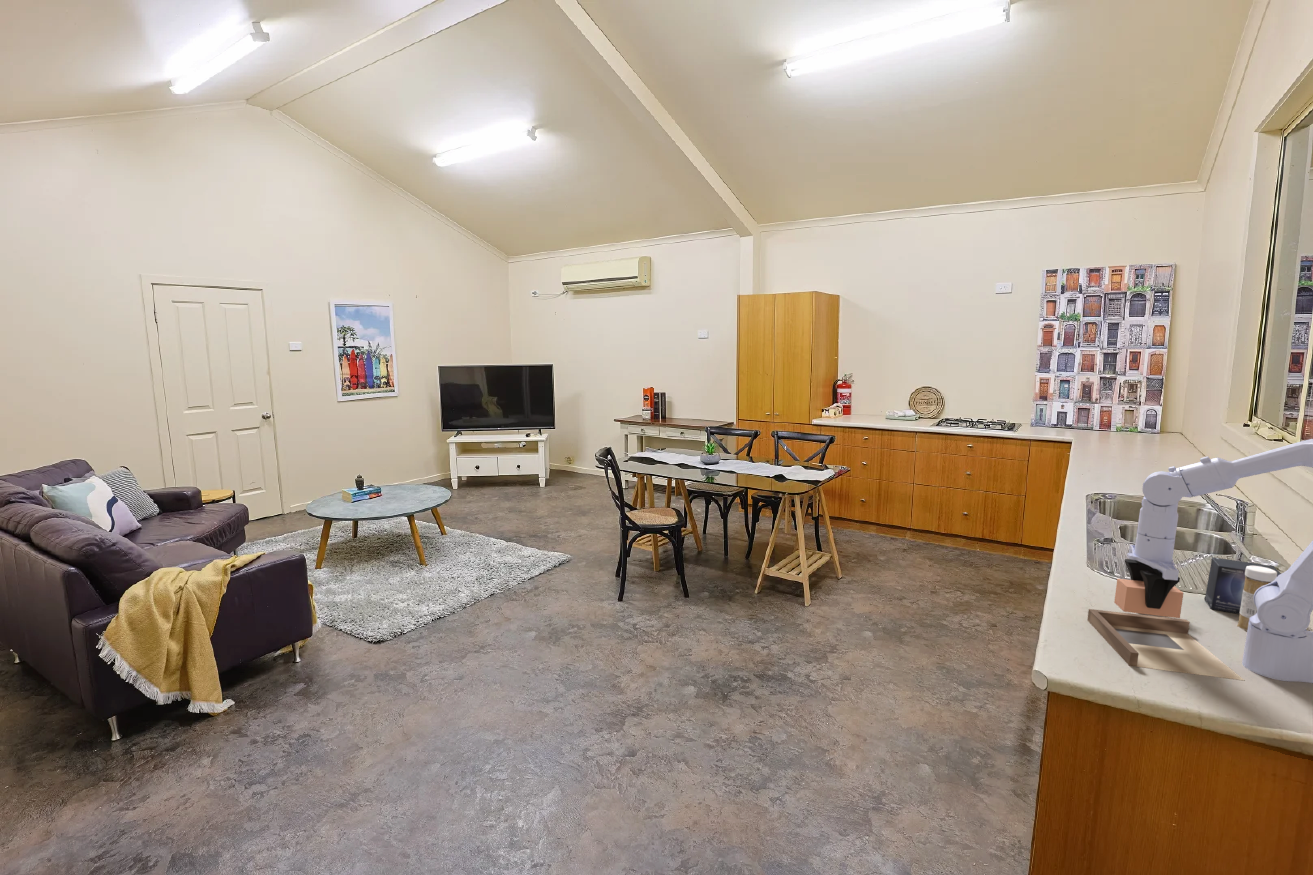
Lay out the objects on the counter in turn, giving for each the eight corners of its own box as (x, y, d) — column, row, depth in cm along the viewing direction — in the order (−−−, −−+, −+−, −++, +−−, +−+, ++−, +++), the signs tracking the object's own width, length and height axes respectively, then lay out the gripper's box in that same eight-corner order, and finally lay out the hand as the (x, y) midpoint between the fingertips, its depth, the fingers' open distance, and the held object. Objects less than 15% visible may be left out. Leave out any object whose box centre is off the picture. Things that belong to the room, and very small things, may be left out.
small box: (1210, 610, 136) (1217, 564, 135) (1203, 599, 142) (1210, 556, 140) (1276, 621, 131) (1284, 574, 129) (1265, 610, 137) (1273, 565, 135)
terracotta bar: (1123, 611, 119) (1126, 586, 118) (1114, 602, 123) (1117, 578, 122) (1179, 618, 116) (1183, 592, 116) (1168, 608, 120) (1171, 584, 120)
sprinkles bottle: (1271, 634, 125) (1282, 570, 123) (1260, 638, 123) (1271, 574, 121) (1242, 624, 129) (1252, 563, 127) (1231, 628, 127) (1241, 566, 125)
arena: (1184, 635, 124) (1186, 619, 123) (1244, 685, 106) (1247, 666, 105) (1086, 624, 128) (1088, 608, 128) (1128, 670, 110) (1130, 652, 110)
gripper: (1114, 522, 125) (1106, 585, 127) (1149, 544, 112) (1140, 615, 114) (1155, 525, 124) (1146, 589, 126) (1196, 548, 110) (1185, 620, 112)
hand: (1146, 602), depth 119 cm, fingers closed on terracotta bar, 4 cm apart
